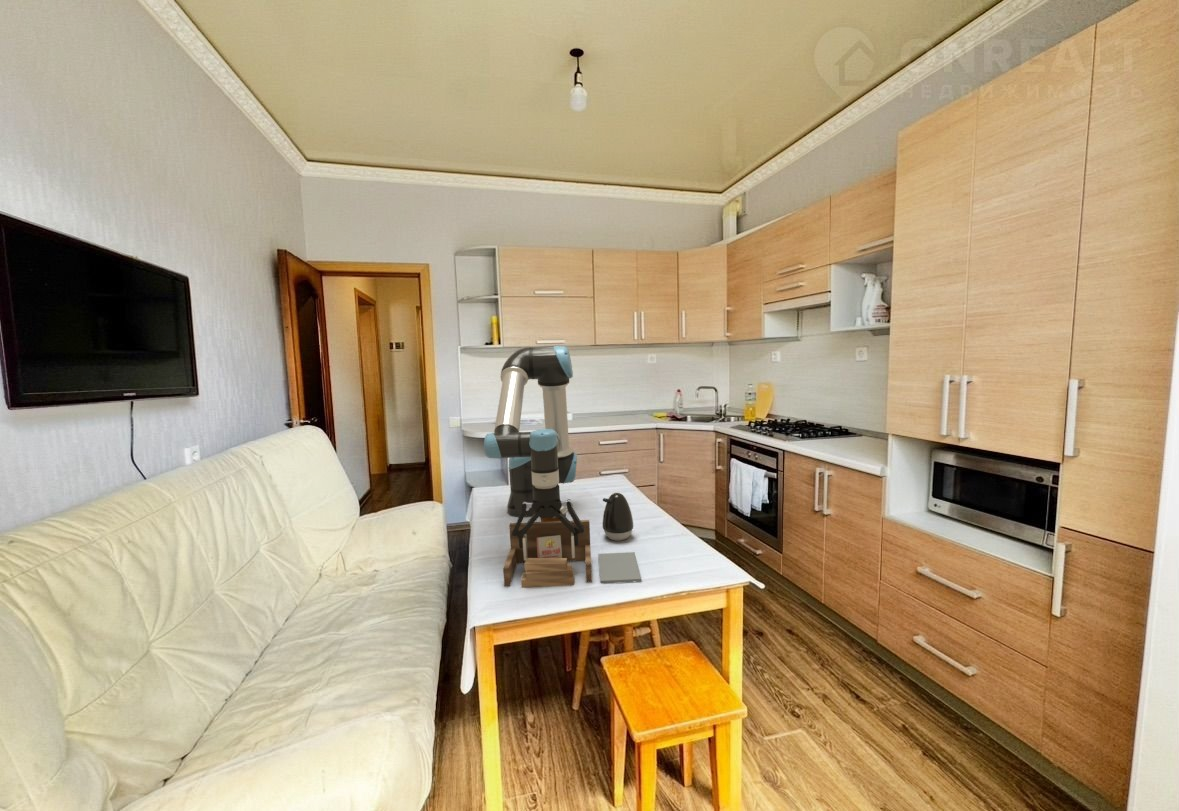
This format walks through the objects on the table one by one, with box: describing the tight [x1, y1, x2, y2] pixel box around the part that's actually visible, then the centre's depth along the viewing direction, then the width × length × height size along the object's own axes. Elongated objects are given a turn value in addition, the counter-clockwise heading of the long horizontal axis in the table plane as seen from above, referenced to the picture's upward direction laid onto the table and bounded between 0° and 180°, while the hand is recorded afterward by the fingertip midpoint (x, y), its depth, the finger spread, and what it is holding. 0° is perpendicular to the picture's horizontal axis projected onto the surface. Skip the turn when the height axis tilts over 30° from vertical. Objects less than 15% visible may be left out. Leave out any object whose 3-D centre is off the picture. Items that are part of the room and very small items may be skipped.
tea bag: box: [537, 535, 562, 558], centre depth 127 cm, size 4×7×10 cm, turn 99°
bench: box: [502, 519, 593, 587], centre depth 126 cm, size 14×24×12 cm, turn 91°
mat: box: [597, 551, 643, 584], centre depth 127 cm, size 16×11×1 cm
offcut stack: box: [520, 558, 575, 588], centre depth 120 cm, size 5×14×6 cm, turn 91°
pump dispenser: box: [602, 492, 634, 542], centre depth 147 cm, size 10×10×15 cm
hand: (549, 557), depth 127 cm, fingers open, 13 cm apart
